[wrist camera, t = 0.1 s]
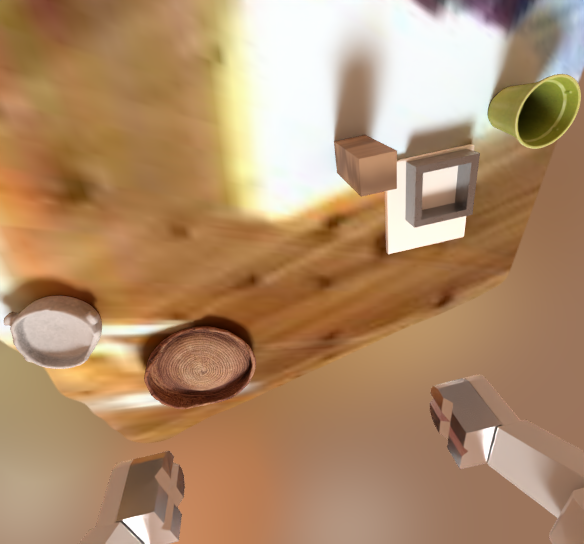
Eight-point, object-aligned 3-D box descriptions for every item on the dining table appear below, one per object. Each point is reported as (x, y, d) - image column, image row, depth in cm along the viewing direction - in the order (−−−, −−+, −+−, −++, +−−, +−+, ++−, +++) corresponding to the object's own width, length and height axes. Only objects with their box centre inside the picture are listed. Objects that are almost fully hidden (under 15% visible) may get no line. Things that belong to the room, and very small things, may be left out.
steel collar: (406, 161, 55) (415, 167, 52) (466, 148, 56) (479, 153, 53) (405, 219, 61) (414, 227, 58) (460, 207, 61) (472, 214, 58)
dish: (103, 294, 61) (94, 311, 56) (109, 351, 67) (101, 370, 63) (9, 288, 57) (-8, 306, 53) (25, 349, 64) (11, 369, 60)
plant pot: (485, 75, 51) (527, 76, 44) (541, 71, 52) (592, 72, 45) (471, 140, 56) (507, 151, 49) (523, 135, 57) (566, 145, 50)
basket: (229, 305, 66) (229, 321, 62) (271, 368, 77) (274, 385, 73) (128, 350, 68) (121, 368, 64) (183, 405, 79) (180, 424, 74)
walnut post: (334, 141, 53) (358, 159, 43) (364, 134, 53) (396, 150, 43) (337, 173, 56) (361, 196, 46) (366, 166, 56) (396, 188, 46)
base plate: (384, 162, 56) (386, 164, 55) (470, 143, 57) (474, 145, 56) (386, 251, 65) (388, 254, 64) (460, 234, 66) (463, 236, 65)
